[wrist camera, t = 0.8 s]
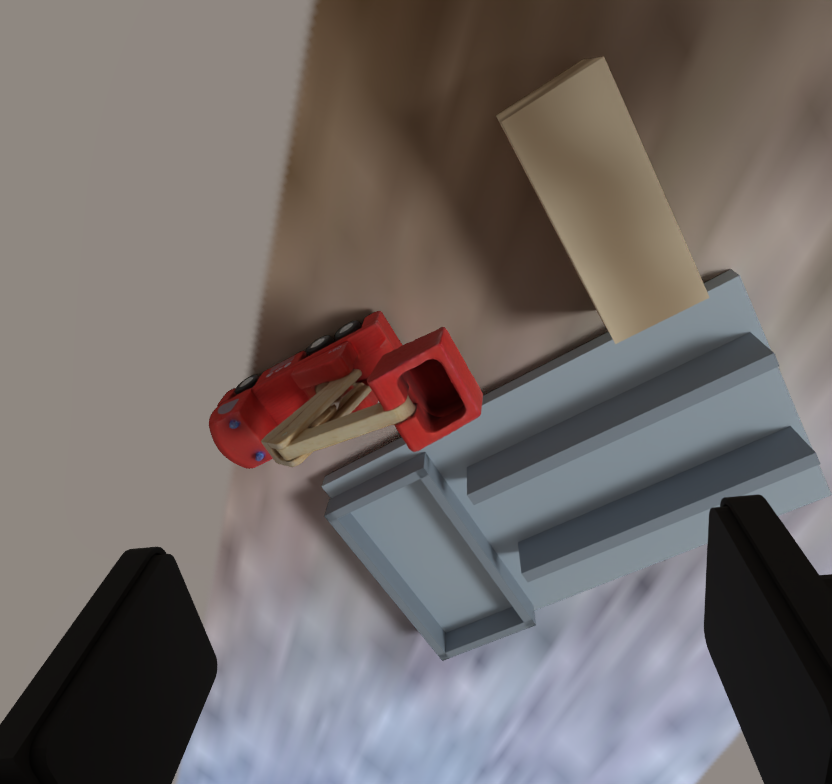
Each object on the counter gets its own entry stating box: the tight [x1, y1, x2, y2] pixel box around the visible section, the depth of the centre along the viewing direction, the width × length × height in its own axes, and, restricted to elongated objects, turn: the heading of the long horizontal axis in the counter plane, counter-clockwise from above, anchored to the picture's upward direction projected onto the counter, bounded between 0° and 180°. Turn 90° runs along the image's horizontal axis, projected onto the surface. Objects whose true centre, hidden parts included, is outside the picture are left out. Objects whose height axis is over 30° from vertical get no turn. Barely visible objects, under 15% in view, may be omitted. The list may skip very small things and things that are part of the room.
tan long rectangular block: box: [496, 57, 710, 344], centre depth 26 cm, size 4×10×4 cm, turn 32°
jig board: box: [322, 269, 832, 661], centre depth 33 cm, size 23×14×4 cm, turn 122°
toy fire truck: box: [209, 311, 483, 469], centre depth 28 cm, size 3×14×10 cm, turn 120°
